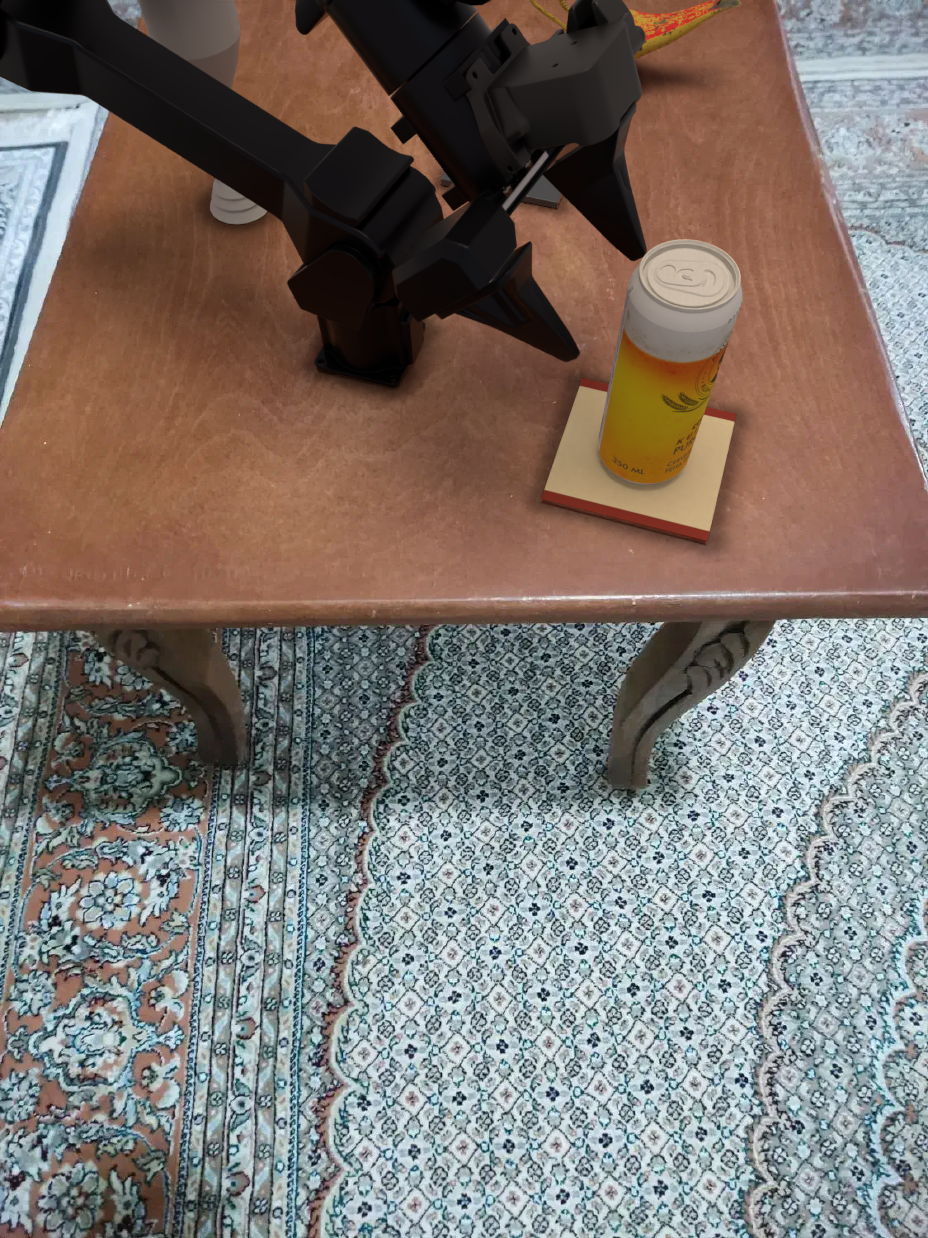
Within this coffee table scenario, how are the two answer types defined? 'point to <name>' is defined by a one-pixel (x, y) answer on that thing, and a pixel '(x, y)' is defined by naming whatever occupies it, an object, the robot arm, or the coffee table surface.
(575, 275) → the coffee table surface
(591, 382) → the beige and red tile
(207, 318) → the coffee table surface
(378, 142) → the robot arm
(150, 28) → the chalice
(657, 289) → the beer can
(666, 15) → the magic lamp
